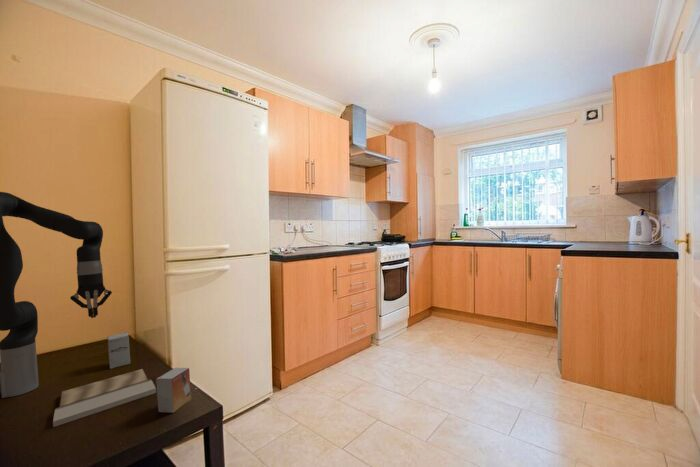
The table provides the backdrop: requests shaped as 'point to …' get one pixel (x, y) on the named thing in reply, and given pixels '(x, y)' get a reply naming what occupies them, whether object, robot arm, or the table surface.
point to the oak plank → (102, 387)
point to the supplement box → (118, 350)
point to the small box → (173, 390)
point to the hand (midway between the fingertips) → (93, 317)
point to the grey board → (102, 402)
